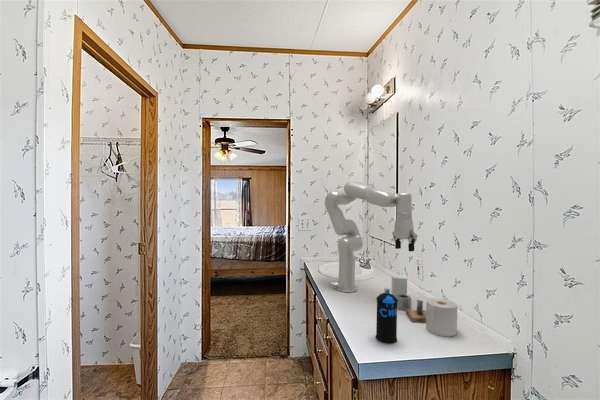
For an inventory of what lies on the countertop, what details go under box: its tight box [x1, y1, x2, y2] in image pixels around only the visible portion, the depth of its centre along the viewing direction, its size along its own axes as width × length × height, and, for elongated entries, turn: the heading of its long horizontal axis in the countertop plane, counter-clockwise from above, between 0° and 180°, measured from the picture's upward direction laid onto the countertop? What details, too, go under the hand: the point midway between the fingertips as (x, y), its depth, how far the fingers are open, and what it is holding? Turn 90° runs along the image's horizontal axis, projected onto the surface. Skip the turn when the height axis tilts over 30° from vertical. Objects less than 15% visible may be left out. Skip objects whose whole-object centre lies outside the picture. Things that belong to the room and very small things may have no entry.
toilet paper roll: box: [425, 297, 458, 337], centre depth 129 cm, size 12×12×12 cm
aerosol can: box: [375, 287, 398, 344], centre depth 120 cm, size 8×8×20 cm
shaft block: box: [405, 299, 426, 324], centre depth 141 cm, size 10×10×8 cm
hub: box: [397, 294, 412, 312], centre depth 153 cm, size 6×6×6 cm
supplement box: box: [390, 274, 408, 298], centre depth 166 cm, size 7×7×13 cm
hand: (404, 249), depth 158 cm, fingers open, 9 cm apart
